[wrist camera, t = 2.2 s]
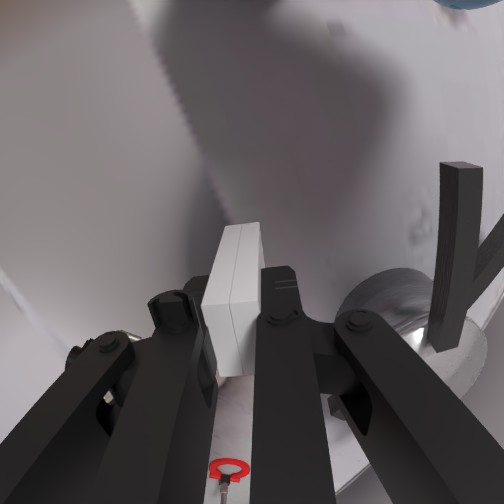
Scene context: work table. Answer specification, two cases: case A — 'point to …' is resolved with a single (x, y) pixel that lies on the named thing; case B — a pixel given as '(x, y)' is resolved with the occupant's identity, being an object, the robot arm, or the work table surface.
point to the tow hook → (225, 479)
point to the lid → (453, 284)
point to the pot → (418, 290)
